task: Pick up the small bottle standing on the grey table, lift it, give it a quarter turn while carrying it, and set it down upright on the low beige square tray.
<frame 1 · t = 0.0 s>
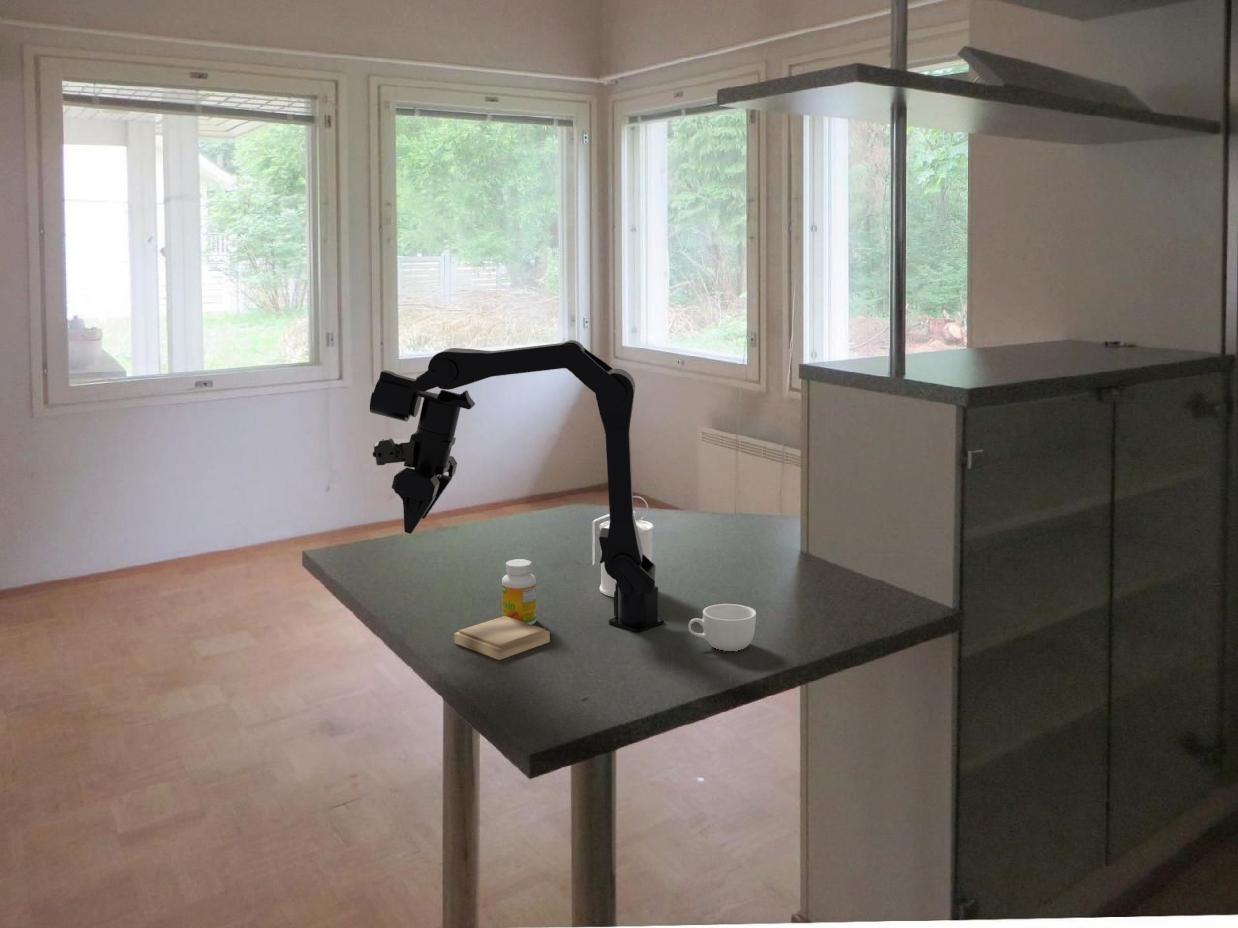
hand: (414, 525, 173), 15 cm above the worktop, tool pointing down, fingers open, 9 cm apart
teacup: (721, 648, 165), on the worktop
beige square tray: (502, 642, 166), on the worktop
supplement bottle: (519, 623, 175), on the worktop
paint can: (622, 591, 191), on the worktop
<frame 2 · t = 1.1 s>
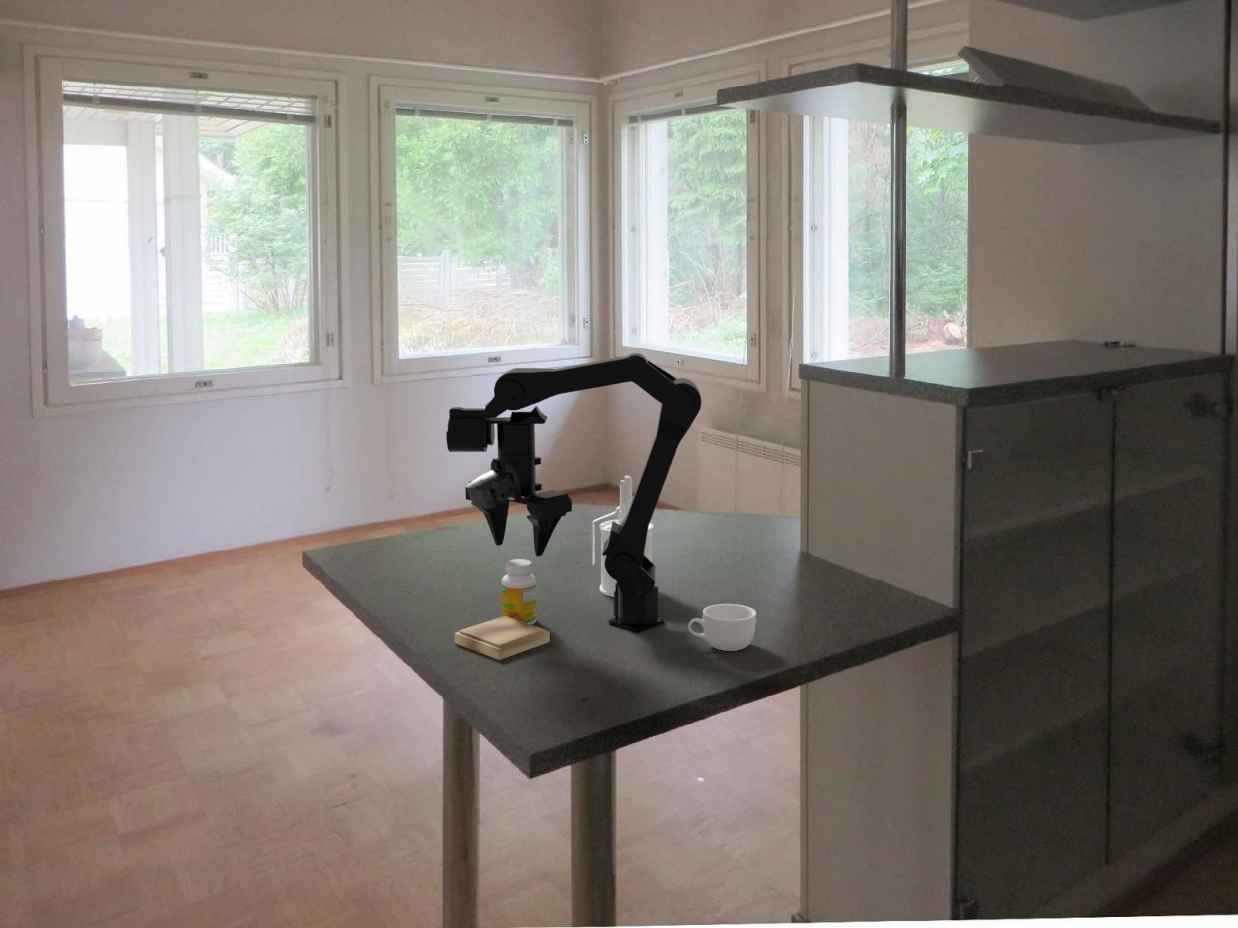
hand: (518, 550, 173), 12 cm above the worktop, tool pointing down, fingers open, 9 cm apart
nothing on the worktop moved.
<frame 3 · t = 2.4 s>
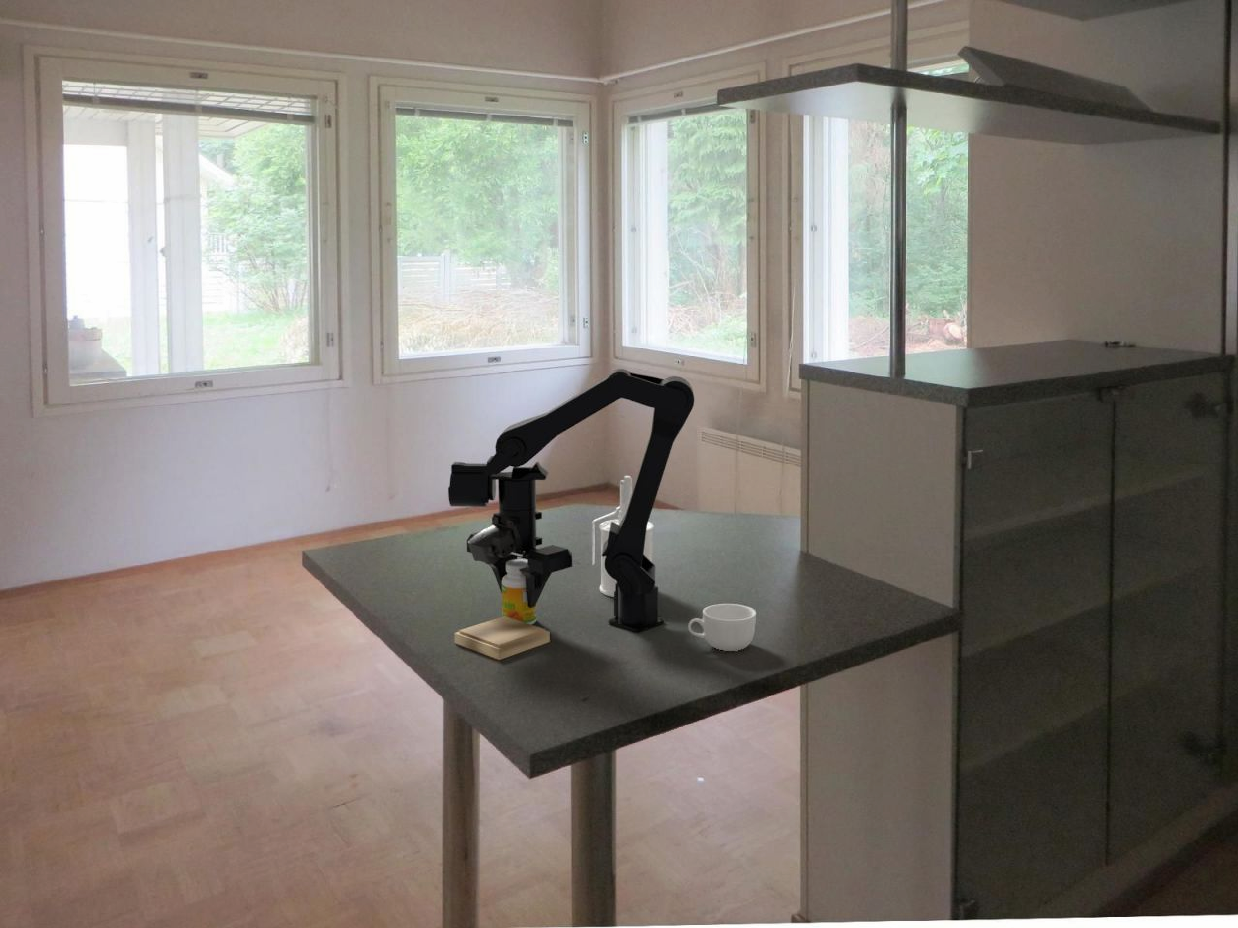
hand: (519, 603, 175), 3 cm above the worktop, tool pointing down, fingers closed on supplement bottle, 5 cm apart
supplement bottle: (519, 622, 175), on the worktop, touching gripper
everything else where it was.
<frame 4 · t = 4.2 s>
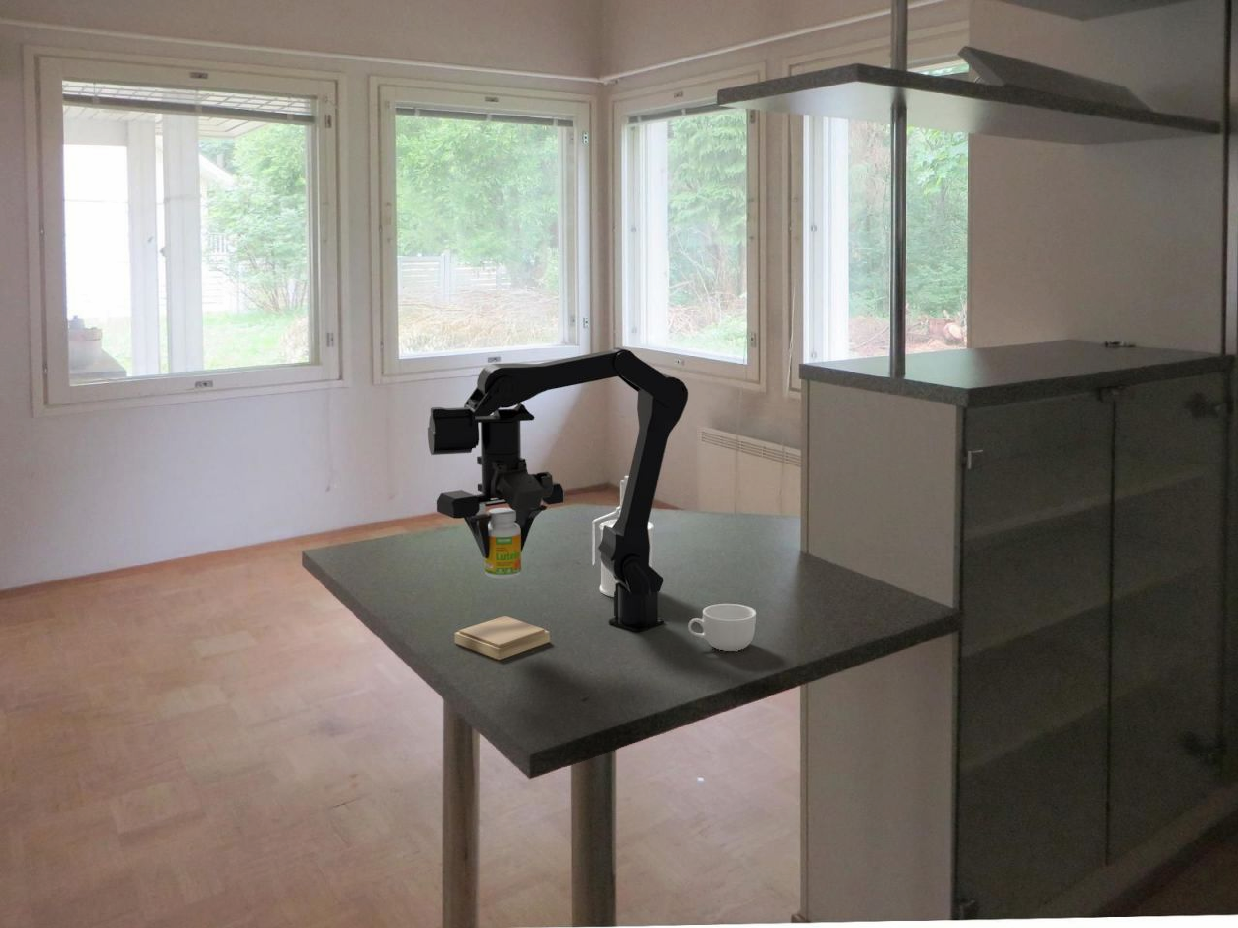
hand: (502, 554, 166), 13 cm above the worktop, tool pointing down, fingers closed on supplement bottle, 5 cm apart
supplement bottle: (503, 575, 166), point 10 cm above the worktop, touching gripper
everything else where it was.
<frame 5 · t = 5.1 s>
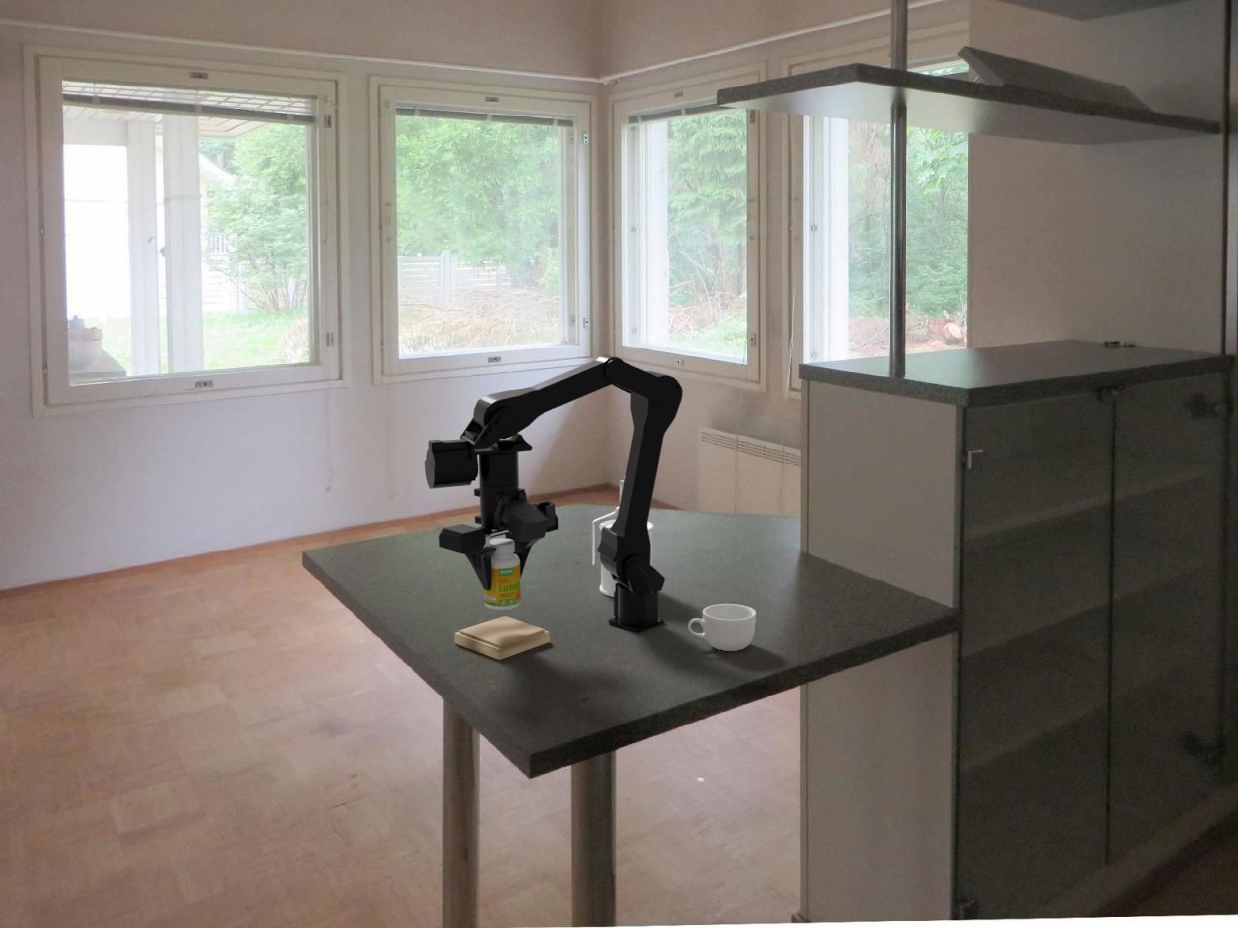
hand: (502, 585, 165), 9 cm above the worktop, tool pointing down, fingers closed on supplement bottle, 5 cm apart
supplement bottle: (502, 606, 165), point 6 cm above the worktop, touching gripper
everything else where it was.
when the fingers open (6 cm above the worktop, at t = 6.0 s): supplement bottle drops 1 cm, resting on beige square tray.
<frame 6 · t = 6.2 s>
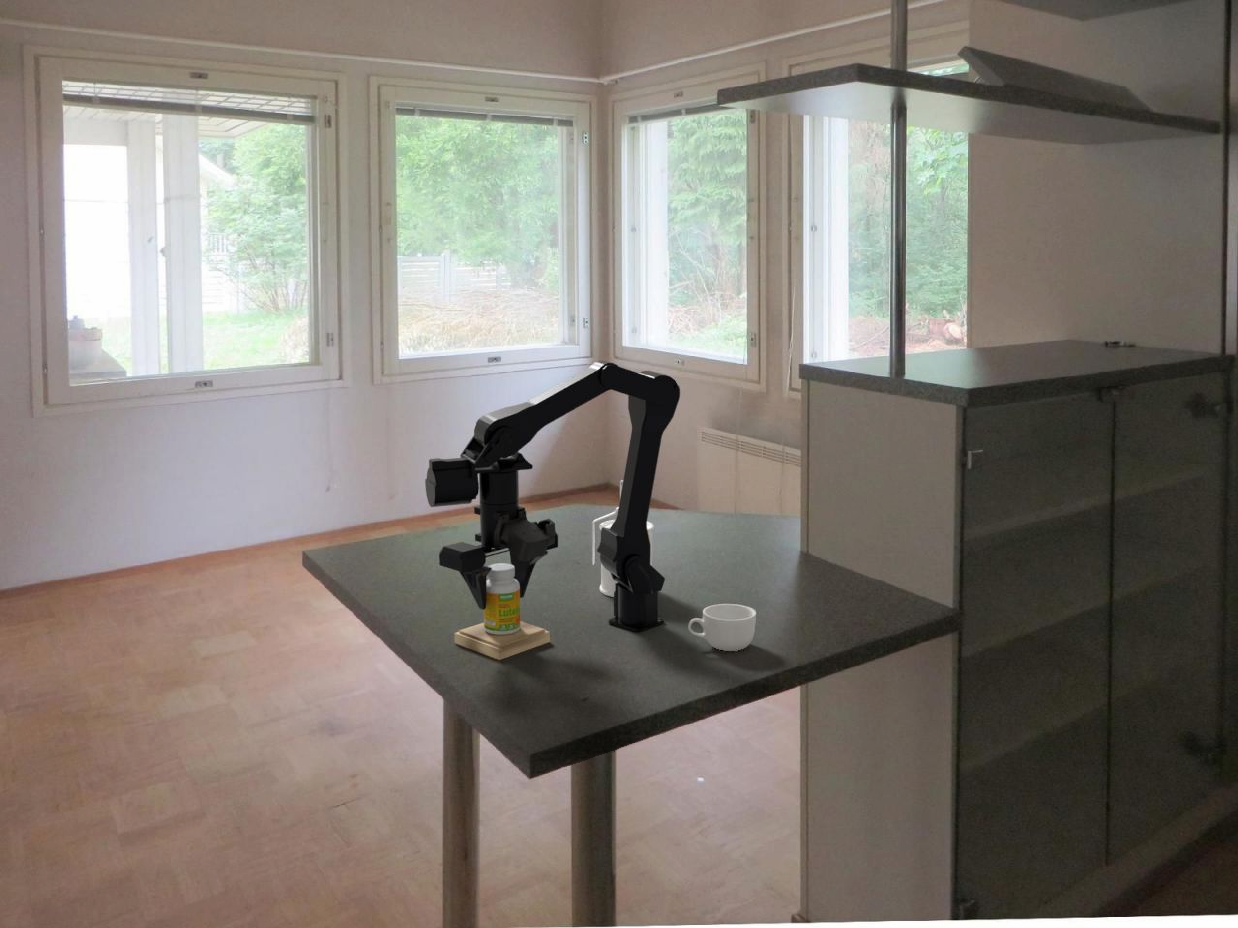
hand: (501, 602, 165), 6 cm above the worktop, tool pointing down, fingers open, 7 cm apart
supplement bottle: (502, 630, 166), point 2 cm above the worktop, touching beige square tray
everything else where it was.
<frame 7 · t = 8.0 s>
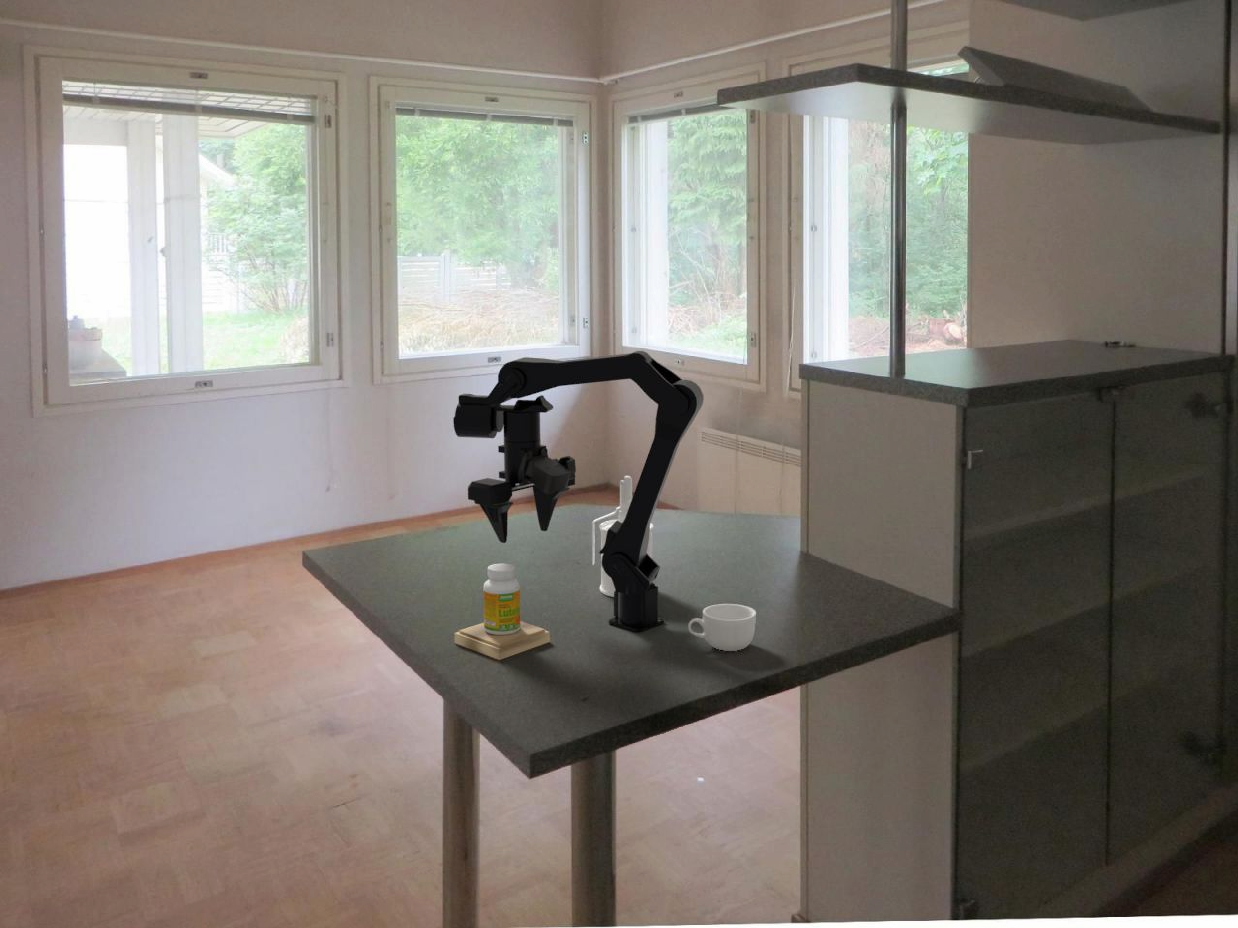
hand: (523, 536, 176), 13 cm above the worktop, tool pointing down, fingers open, 9 cm apart
nothing on the worktop moved.
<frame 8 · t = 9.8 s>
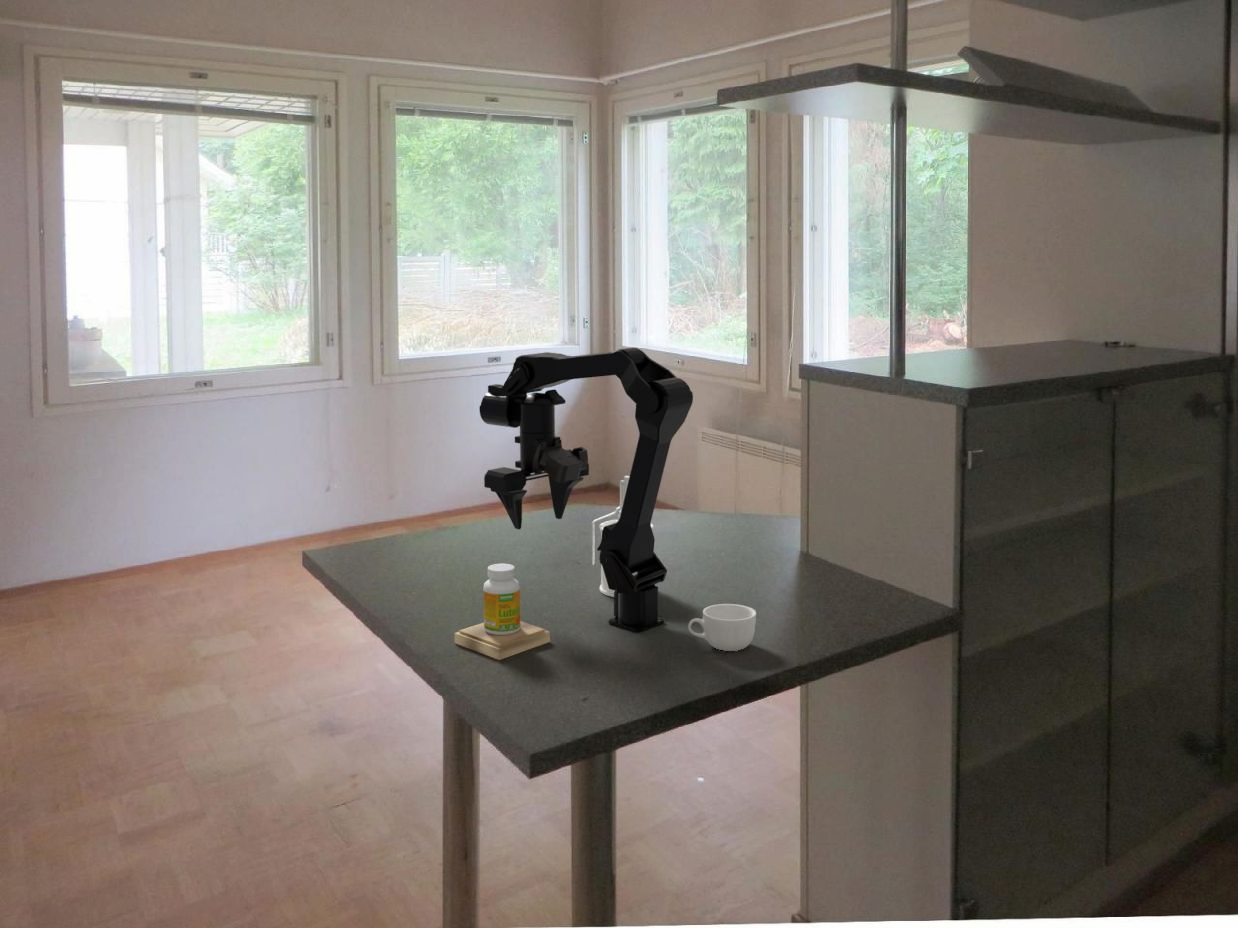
hand: (538, 523, 184), 13 cm above the worktop, tool pointing down, fingers open, 9 cm apart
nothing on the worktop moved.
at the end: supplement bottle inside the target area on the beige square tray (0.0 cm from its centre), point 1.8 cm above the beige square tray's base; supplement bottle tilted 0°; the gripper is holding nothing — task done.
